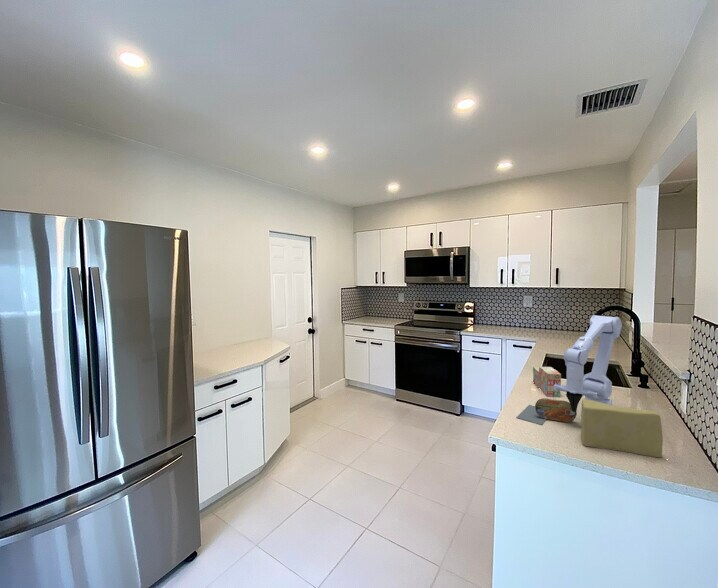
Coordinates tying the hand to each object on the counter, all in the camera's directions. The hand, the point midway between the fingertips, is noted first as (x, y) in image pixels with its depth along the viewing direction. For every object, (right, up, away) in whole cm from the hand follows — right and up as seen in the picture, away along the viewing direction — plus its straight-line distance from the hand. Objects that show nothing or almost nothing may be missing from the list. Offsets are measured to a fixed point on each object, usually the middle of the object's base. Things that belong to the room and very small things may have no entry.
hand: (574, 410), depth 129 cm
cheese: (+4, -7, -17) cm, 19 cm away
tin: (-5, -6, +5) cm, 9 cm away
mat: (-10, -6, +10) cm, 16 cm away
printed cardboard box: (+12, -4, +40) cm, 42 cm away
